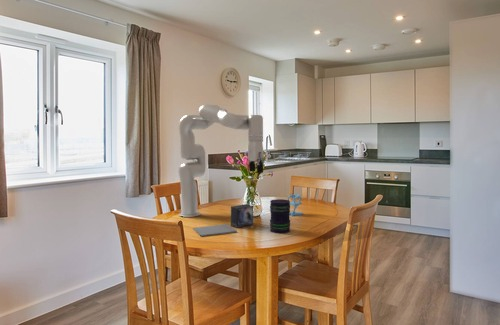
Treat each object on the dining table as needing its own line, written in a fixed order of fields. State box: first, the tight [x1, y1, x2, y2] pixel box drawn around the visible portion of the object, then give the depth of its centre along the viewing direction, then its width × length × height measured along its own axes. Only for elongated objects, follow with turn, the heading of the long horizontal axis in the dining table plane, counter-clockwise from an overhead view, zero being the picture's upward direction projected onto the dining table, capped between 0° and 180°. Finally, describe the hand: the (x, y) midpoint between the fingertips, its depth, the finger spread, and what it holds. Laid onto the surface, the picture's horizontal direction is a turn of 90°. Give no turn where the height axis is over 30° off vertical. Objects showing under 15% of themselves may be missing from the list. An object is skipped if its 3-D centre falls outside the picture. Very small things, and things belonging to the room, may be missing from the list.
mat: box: [192, 223, 238, 237], centre depth 180 cm, size 15×18×1 cm
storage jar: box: [269, 198, 291, 234], centre depth 178 cm, size 10×10×15 cm
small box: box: [230, 203, 254, 229], centre depth 190 cm, size 11×6×10 cm, turn 126°
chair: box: [286, 193, 304, 217], centre depth 215 cm, size 8×8×12 cm
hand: (256, 171), depth 188 cm, fingers open, 9 cm apart
